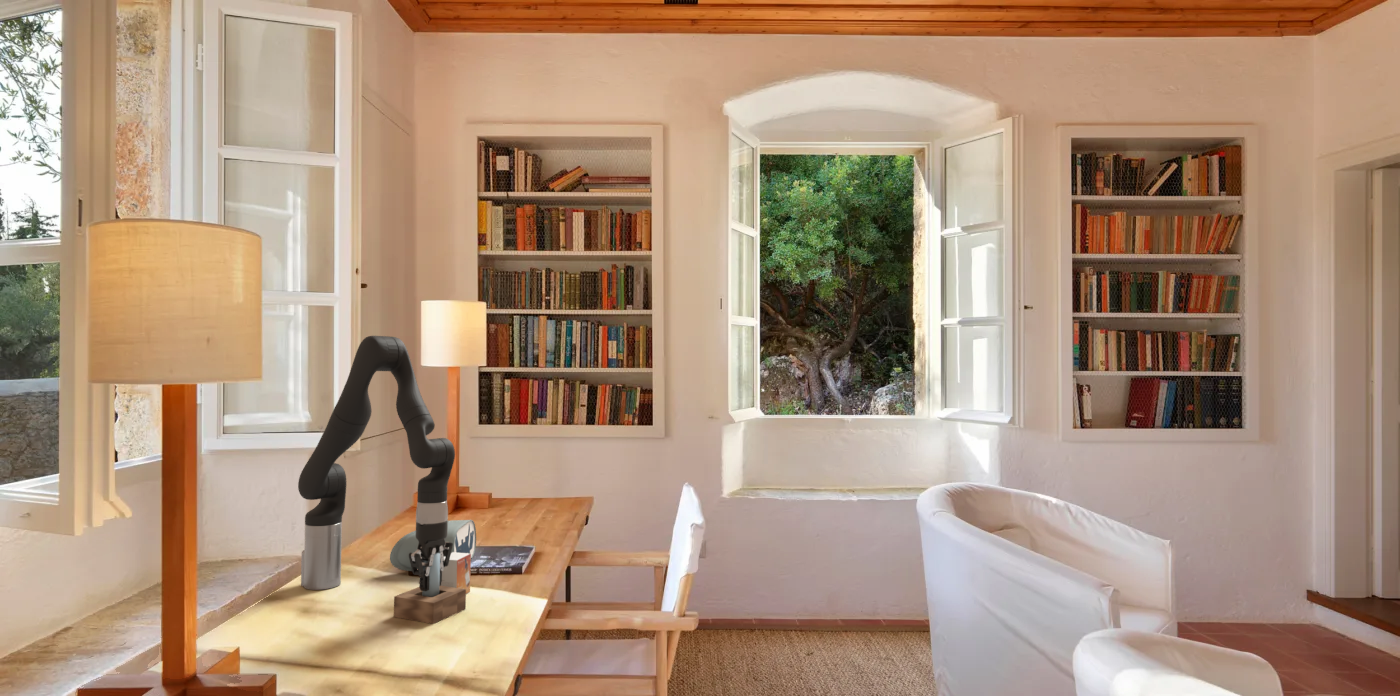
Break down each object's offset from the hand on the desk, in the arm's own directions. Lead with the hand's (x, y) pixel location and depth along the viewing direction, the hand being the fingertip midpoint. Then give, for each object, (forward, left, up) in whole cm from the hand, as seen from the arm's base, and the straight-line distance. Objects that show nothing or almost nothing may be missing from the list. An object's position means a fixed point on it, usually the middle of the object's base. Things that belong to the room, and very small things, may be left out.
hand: (430, 587), depth 199 cm
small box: (-4, +14, -7) cm, 16 cm away
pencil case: (-28, +35, -7) cm, 45 cm away
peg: (0, 0, -3) cm, 3 cm away
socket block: (0, 0, -6) cm, 6 cm away
